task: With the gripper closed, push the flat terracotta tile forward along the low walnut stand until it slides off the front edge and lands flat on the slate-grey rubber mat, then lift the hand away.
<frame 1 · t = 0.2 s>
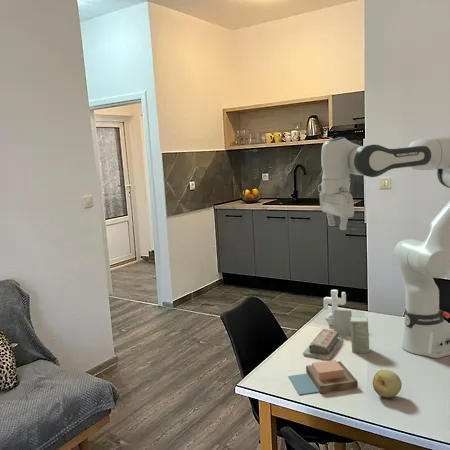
hand: (337, 227, 154), 47 cm above the table, tool pointing down, fingers open, 8 cm apart
figurine: (335, 324, 193), on the table
grey block: (343, 334, 182), on the table
packaged product: (323, 349, 171), on the table
walnut stand: (331, 380, 146), on the table
terracotta tile: (327, 373, 146), point 2 cm above the table, touching walnut stand
slate mat: (304, 384, 145), on the table
fruit: (387, 397, 135), on the table
skincare box: (360, 351, 166), on the table
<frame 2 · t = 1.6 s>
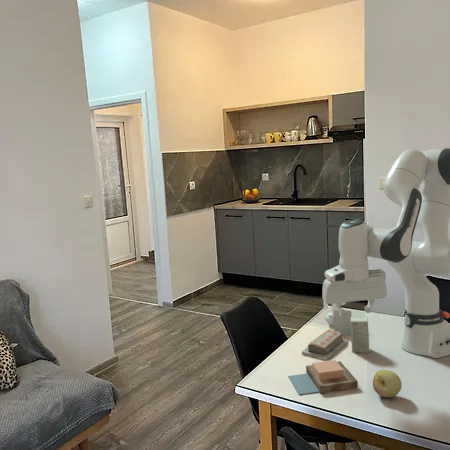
hand: (355, 313, 144), 21 cm above the table, tool pointing down, fingers open, 7 cm apart
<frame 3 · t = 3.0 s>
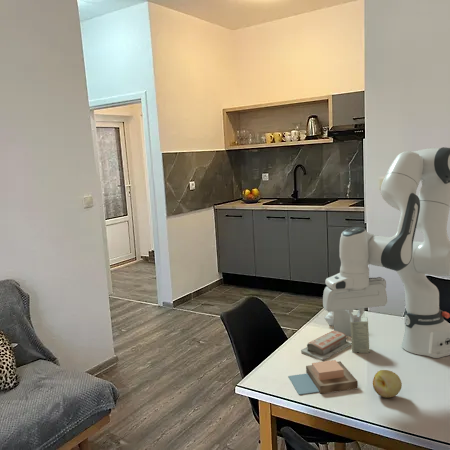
hand: (355, 321, 145), 19 cm above the table, tool pointing down, fingers closed
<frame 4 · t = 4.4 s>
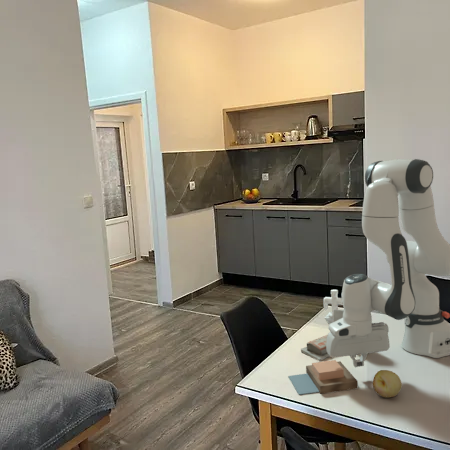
hand: (358, 365, 147), 4 cm above the table, tool pointing down, fingers closed
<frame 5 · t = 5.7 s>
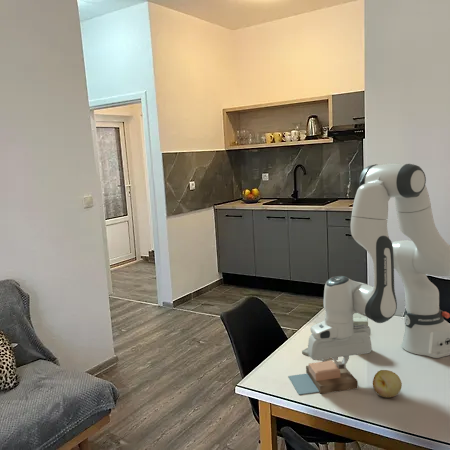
hand: (340, 368, 146), 4 cm above the table, tool pointing down, fingers closed
terracotta tile: (324, 374, 146), point 3 cm above the table, touching gripper
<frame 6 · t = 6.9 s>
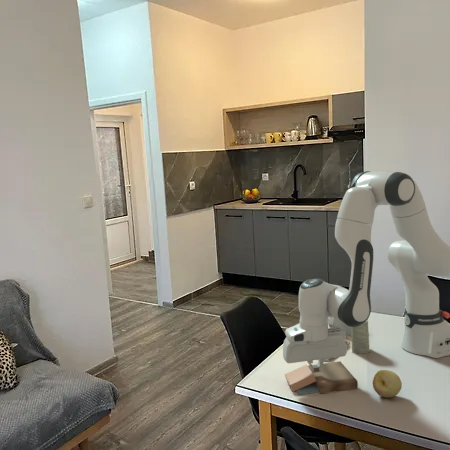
hand: (315, 371, 145), 4 cm above the table, tool pointing down, fingers closed
terracotta tile: (301, 381, 145), point 1 cm above the table, tilted 18°
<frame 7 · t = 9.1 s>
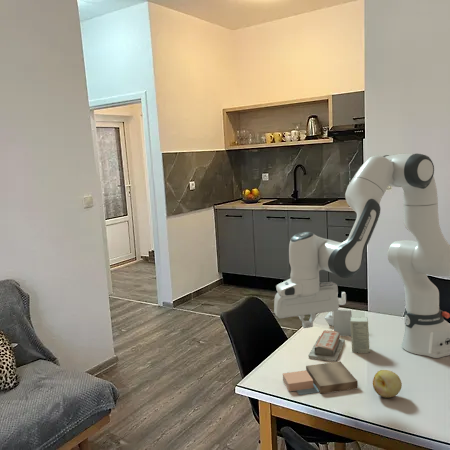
hand: (307, 327, 143), 19 cm above the table, tool pointing down, fingers closed
terracotta tile: (298, 384, 145), on the table, touching slate mat
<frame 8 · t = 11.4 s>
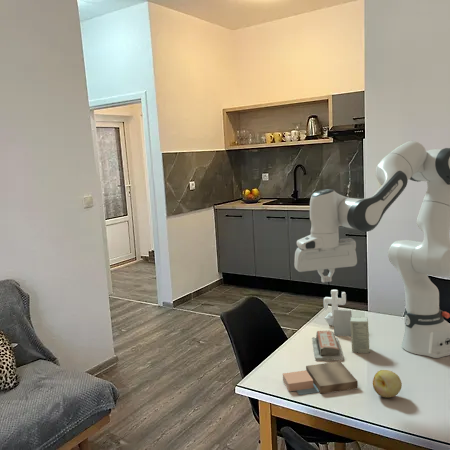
hand: (326, 281, 148), 31 cm above the table, tool pointing down, fingers closed
at the end: terracotta tile inside the target area (0.5 cm from its centre), on the table; terracotta tile touching slate mat; terracotta tile tilted 0° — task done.
